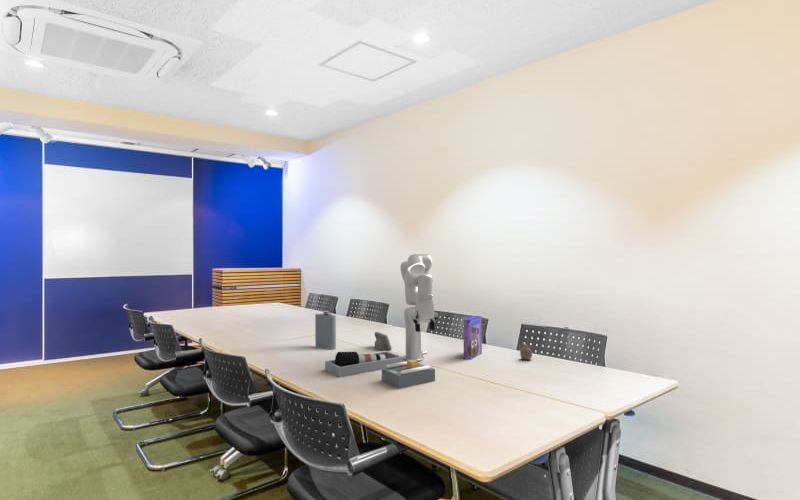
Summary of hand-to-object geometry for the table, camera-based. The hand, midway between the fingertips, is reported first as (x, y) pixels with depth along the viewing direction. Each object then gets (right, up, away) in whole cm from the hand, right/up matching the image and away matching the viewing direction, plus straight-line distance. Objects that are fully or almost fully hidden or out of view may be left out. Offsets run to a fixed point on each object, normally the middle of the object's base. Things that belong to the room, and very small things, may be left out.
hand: (425, 330), depth 235 cm
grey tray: (-33, -25, +19) cm, 45 cm away
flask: (-64, -25, +70) cm, 98 cm away
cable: (-33, -25, +20) cm, 45 cm away
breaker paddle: (-7, -18, -5) cm, 20 cm away
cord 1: (-13, -19, -1) cm, 22 cm away
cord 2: (-5, -19, -11) cm, 22 cm away
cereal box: (+32, -24, +45) cm, 61 cm away
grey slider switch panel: (-9, -25, -6) cm, 27 cm away
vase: (+63, -24, +36) cm, 76 cm away
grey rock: (-25, -25, +67) cm, 75 cm away
